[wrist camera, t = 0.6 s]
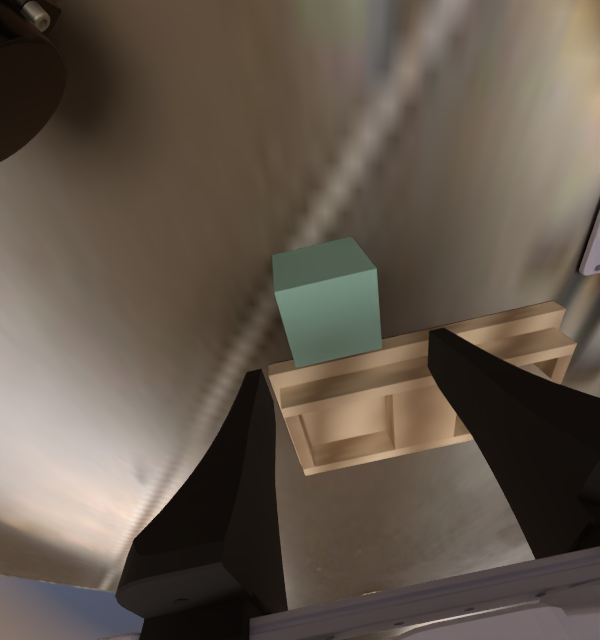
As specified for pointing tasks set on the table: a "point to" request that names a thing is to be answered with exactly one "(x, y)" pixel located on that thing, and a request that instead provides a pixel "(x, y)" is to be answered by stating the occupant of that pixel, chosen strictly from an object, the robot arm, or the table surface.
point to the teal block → (328, 301)
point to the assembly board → (403, 389)
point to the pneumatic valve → (27, 71)
